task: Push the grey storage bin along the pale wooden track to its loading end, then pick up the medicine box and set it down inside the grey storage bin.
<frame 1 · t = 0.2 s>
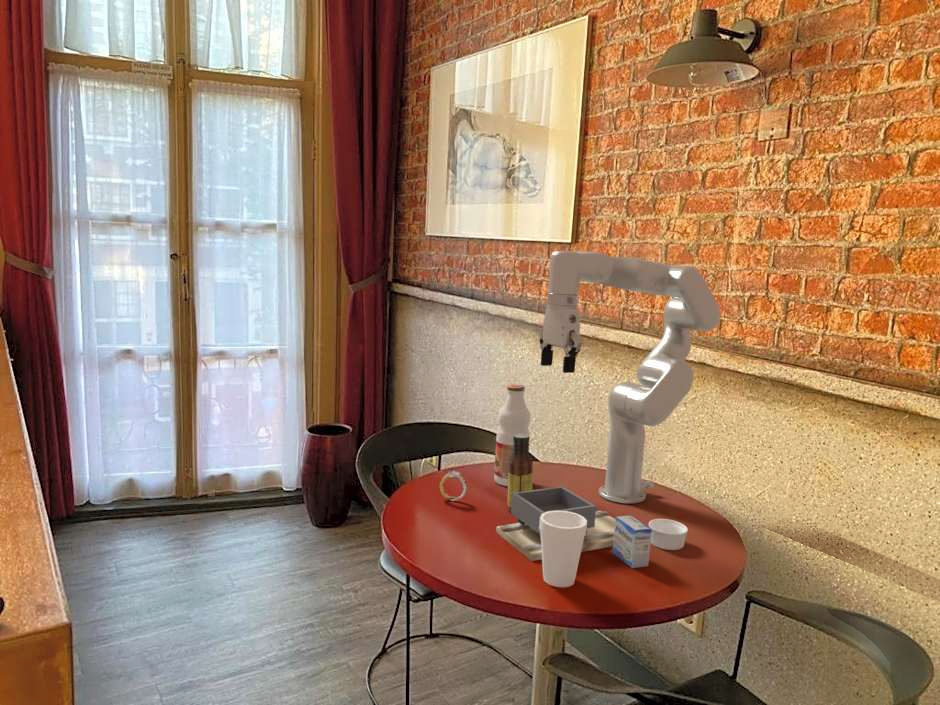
hand: (557, 368, 179), 37 cm above the table, tool pointing down, fingers open, 9 cm apart
track board: (568, 536, 166), on the table
grey storage bin: (552, 514, 163), point 6 cm above the table, slide at 11.0 cm
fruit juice: (510, 482, 202), on the table
sauce bottle: (518, 511, 181), on the table
foam cup: (558, 580, 145), on the table
ramekin: (666, 544, 166), on the table
bracelet: (452, 501, 186), on the table
medicine box: (629, 560, 156), on the table
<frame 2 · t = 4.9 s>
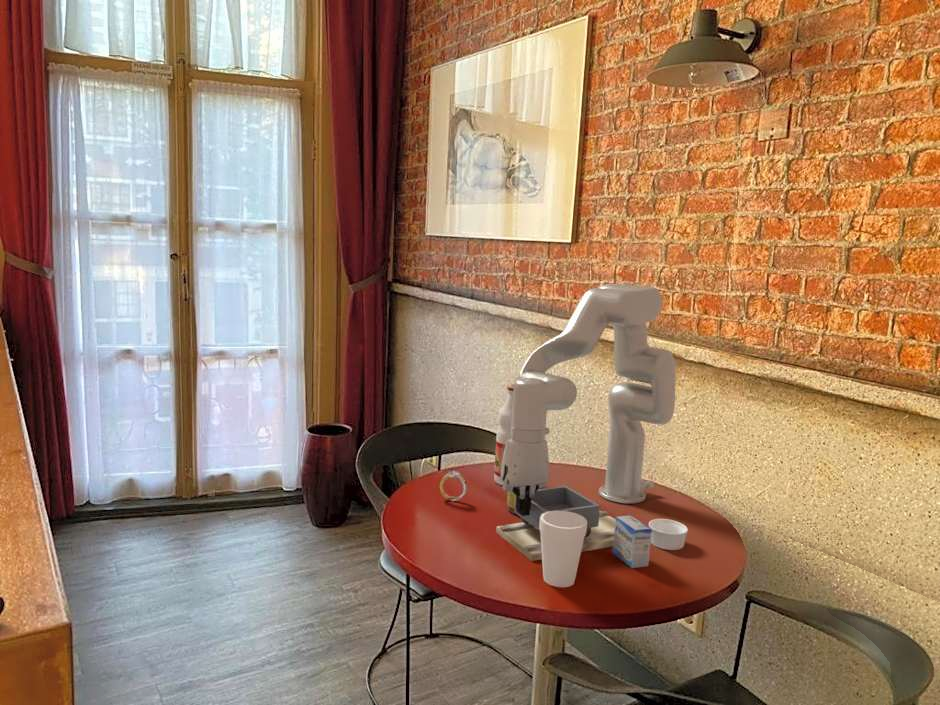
hand: (522, 513, 159), 7 cm above the table, tool pointing down, fingers closed
grey storage bin: (556, 514, 164), point 6 cm above the table, slide at 9.9 cm, touching gripper
everything else where it was.
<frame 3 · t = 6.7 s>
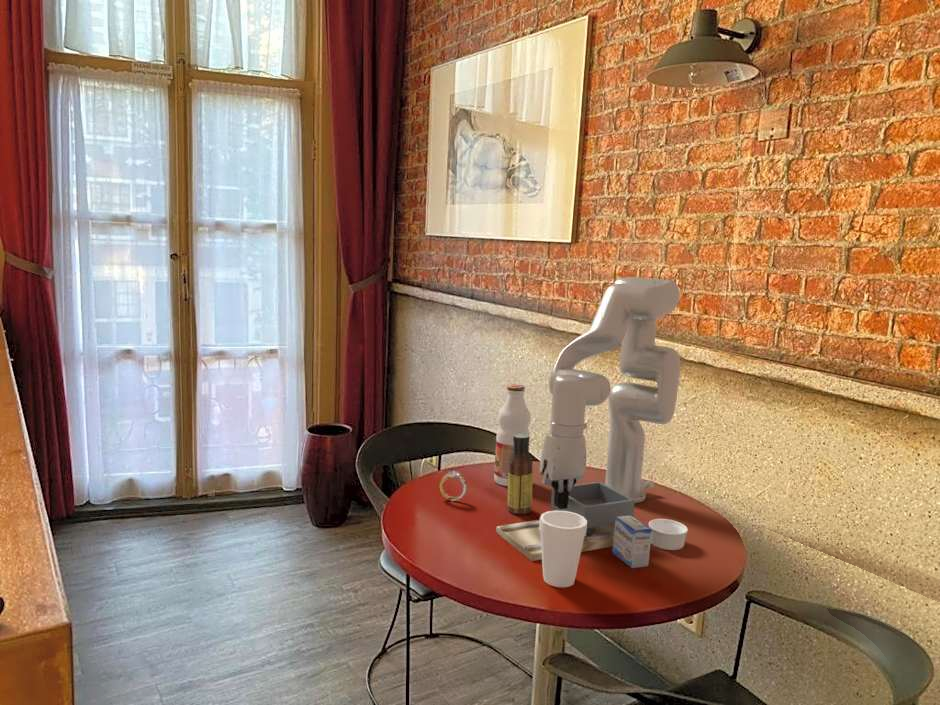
hand: (560, 506, 164), 8 cm above the table, tool pointing down, fingers closed
grey storage bin: (591, 508, 168), point 6 cm above the table, slide at -0.1 cm, touching gripper
everything else where it was.
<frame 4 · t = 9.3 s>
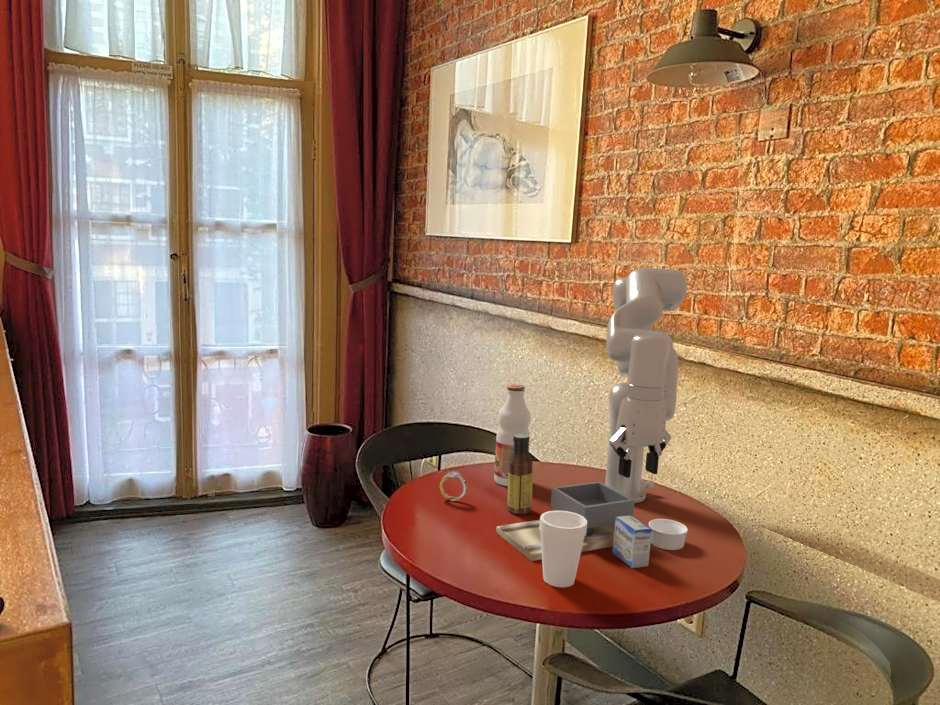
hand: (637, 473, 153), 20 cm above the table, tool pointing down, fingers open, 6 cm apart
grey storage bin: (591, 508, 168), point 6 cm above the table, slide at 0.0 cm
everything else where it was.
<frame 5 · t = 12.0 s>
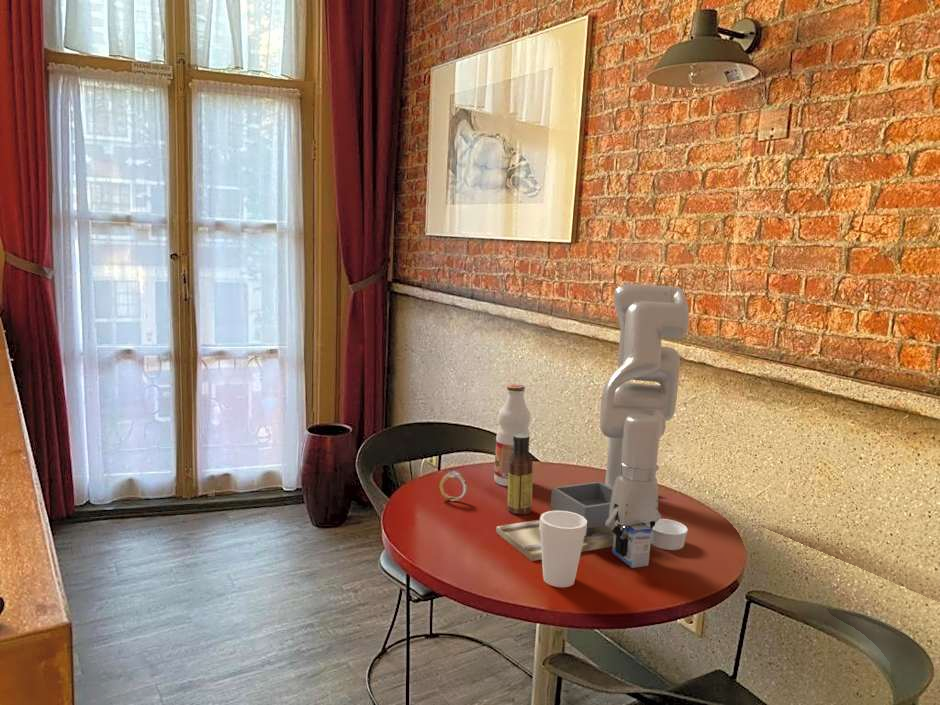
hand: (630, 551, 155), 2 cm above the table, tool pointing down, fingers closed on medicine box, 4 cm apart
medicine box: (629, 560, 156), on the table, touching gripper
everything else where it was.
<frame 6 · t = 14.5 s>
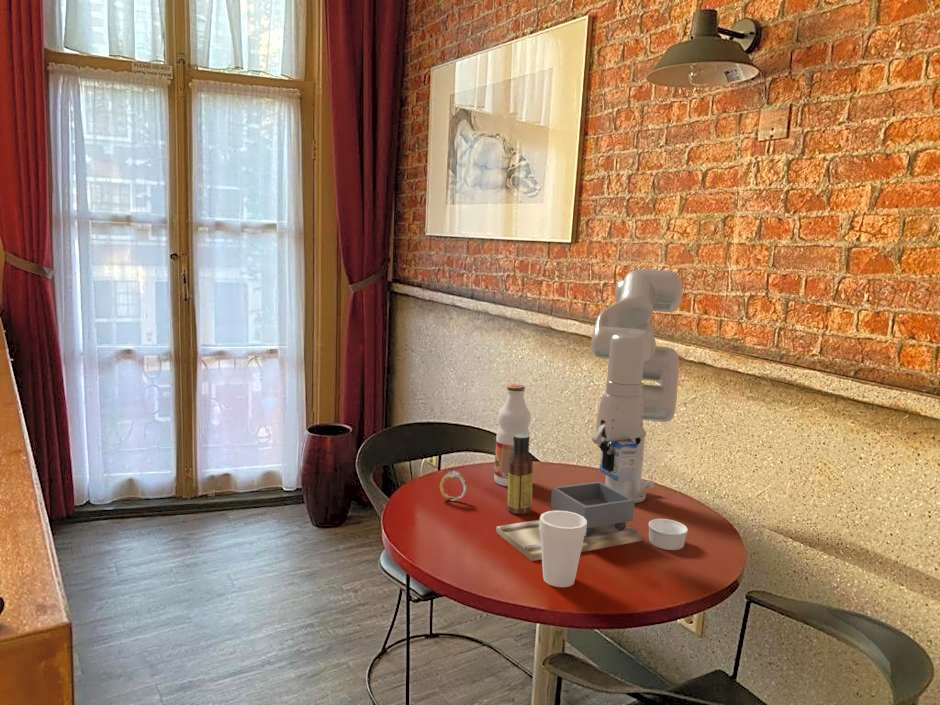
hand: (617, 467, 160), 19 cm above the table, tool pointing down, fingers closed on medicine box, 4 cm apart
medicine box: (616, 476, 160), point 17 cm above the table, touching gripper
everything else where it was.
when the fingers open (10 cm above the table, at t = 17.2 s): medicine box drops 2 cm, resting on grey storage bin.
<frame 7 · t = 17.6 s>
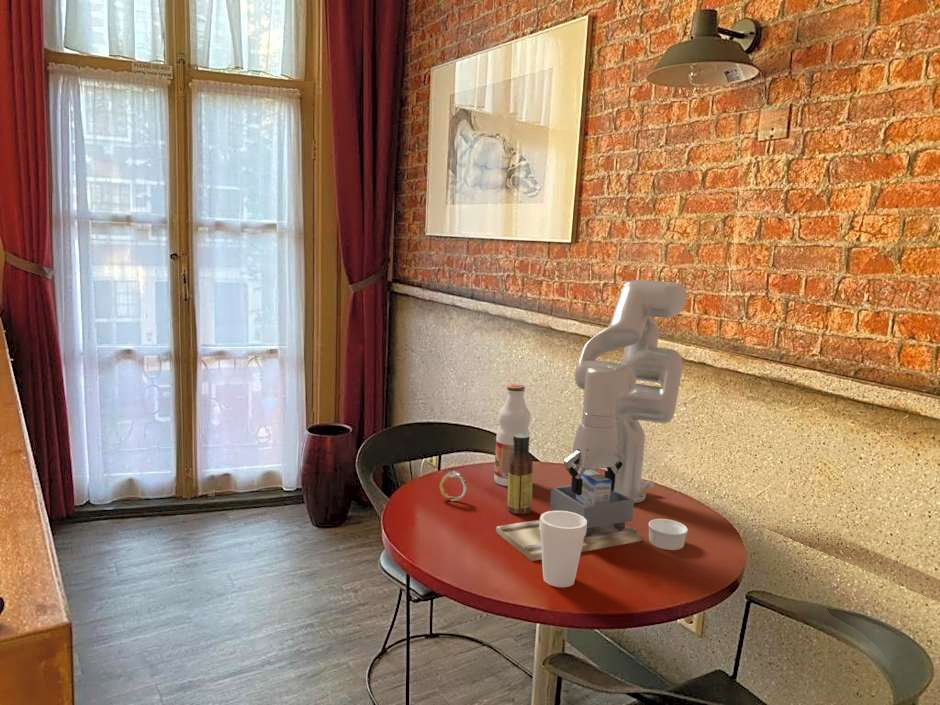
hand: (592, 491, 167), 10 cm above the table, tool pointing down, fingers open, 9 cm apart
grey storage bin: (590, 508, 168), point 6 cm above the table, slide at 0.2 cm, touching medicine box
medicine box: (591, 510, 168), point 6 cm above the table, touching grey storage bin
everything else where it was.
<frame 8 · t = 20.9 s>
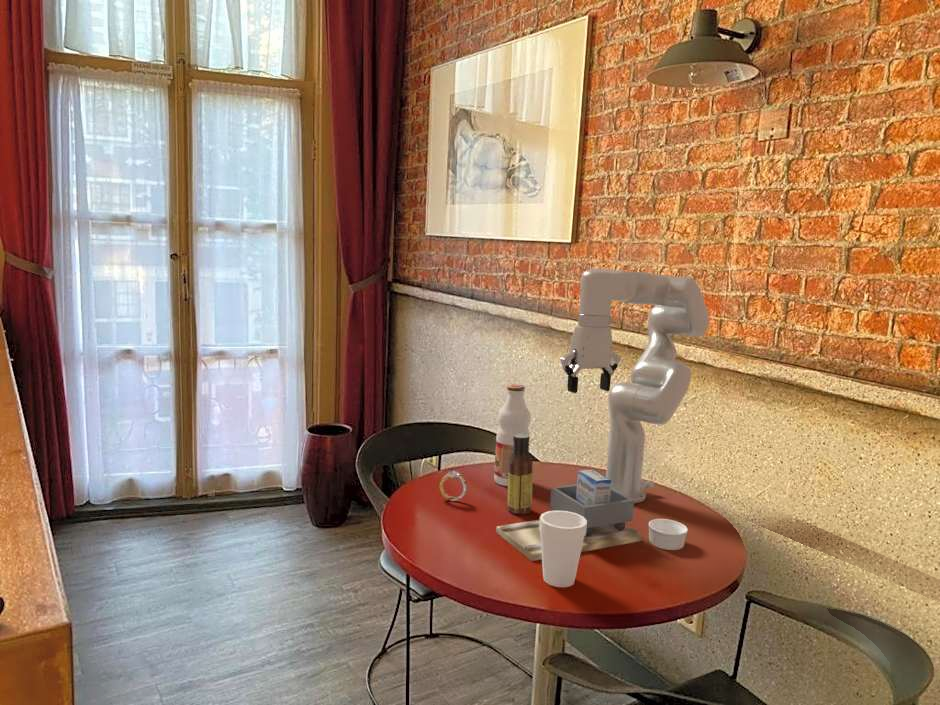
hand: (588, 390, 175), 32 cm above the table, tool pointing down, fingers open, 9 cm apart
nothing on the table moved.
at the end: grey storage bin slide at 0.1 cm; medicine box inside the target area on the grey storage bin (0.3 cm from its centre), point 5.6 cm above the grey storage bin's base; the gripper is holding nothing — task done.
